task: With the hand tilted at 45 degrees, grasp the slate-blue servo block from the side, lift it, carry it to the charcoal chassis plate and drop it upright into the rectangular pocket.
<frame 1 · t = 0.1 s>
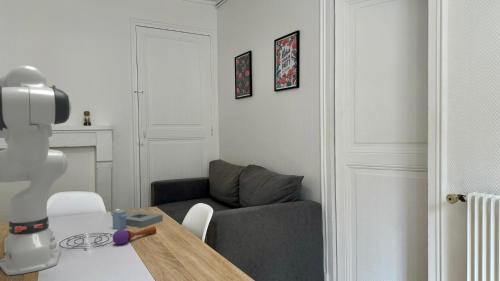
hand: (24, 148, 142), 39 cm above the table, tool pointing down, fingers open, 8 cm apart
purple maraca: (135, 240, 144), on the table
chassis: (139, 222, 172), on the table
servo: (119, 228, 162), on the table
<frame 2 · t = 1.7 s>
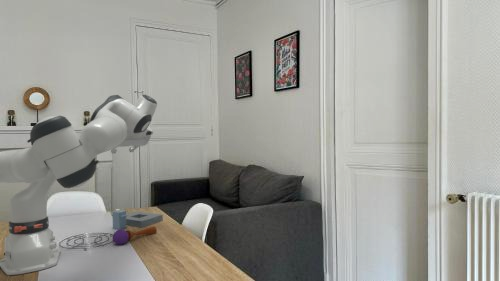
hand: (122, 152, 155), 36 cm above the table, tool tilted 40°, fingers open, 8 cm apart
nothing on the table moved.
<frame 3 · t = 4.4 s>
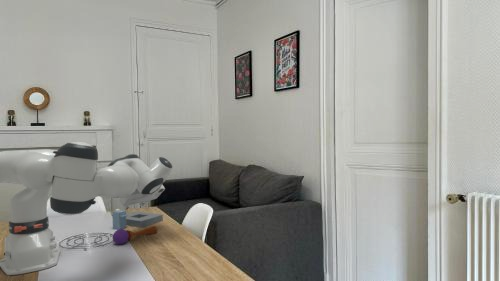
hand: (133, 206, 158), 11 cm above the table, tool tilted 45°, fingers open, 8 cm apart
nothing on the table moved.
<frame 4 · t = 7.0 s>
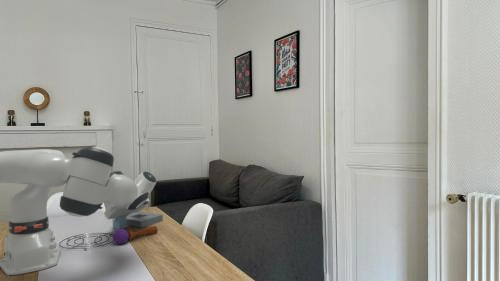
hand: (118, 218, 162), 4 cm above the table, tool tilted 45°, fingers closed on servo, 4 cm apart
servo: (119, 228, 162), on the table, touching gripper
everything else where it was.
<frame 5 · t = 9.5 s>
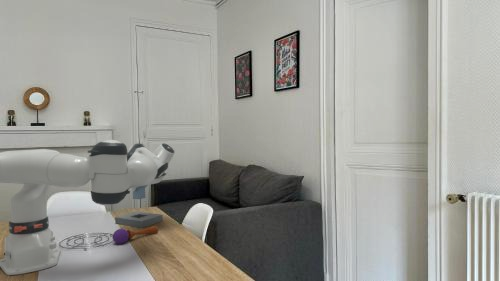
hand: (137, 189, 172), 16 cm above the table, tool tilted 45°, fingers closed on servo, 4 cm apart
servo: (139, 198, 172), point 12 cm above the table, touching gripper
everything else where it was.
when the fingers open (6 cm above the table, at t = 12.3 s): servo drops 1 cm, resting in chassis.
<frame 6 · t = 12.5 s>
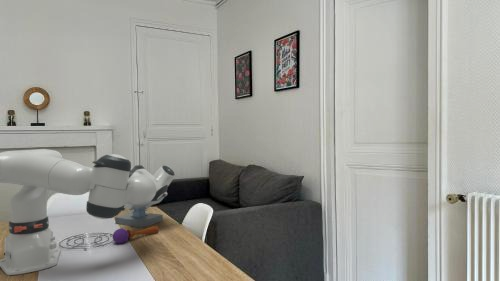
hand: (138, 210, 172), 6 cm above the table, tool tilted 45°, fingers open, 6 cm apart
servo: (139, 222, 172), resting in chassis
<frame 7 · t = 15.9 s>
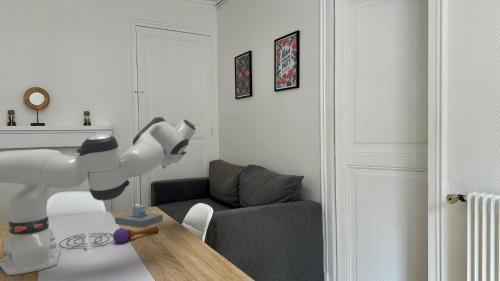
hand: (156, 168, 165), 27 cm above the table, tool tilted 45°, fingers open, 8 cm apart
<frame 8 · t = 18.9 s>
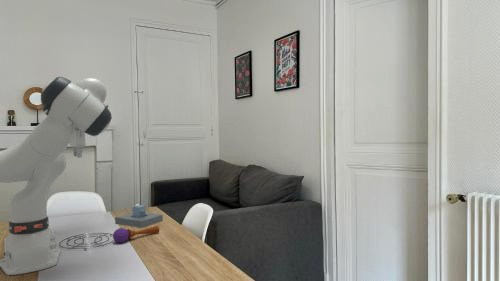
hand: (77, 156, 155), 34 cm above the table, tool pointing down, fingers open, 8 cm apart
at the end: servo 0.1 cm off-centre on the chassis, point 0.0 cm above the chassis's base; servo tilted 0°; the gripper is holding nothing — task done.
